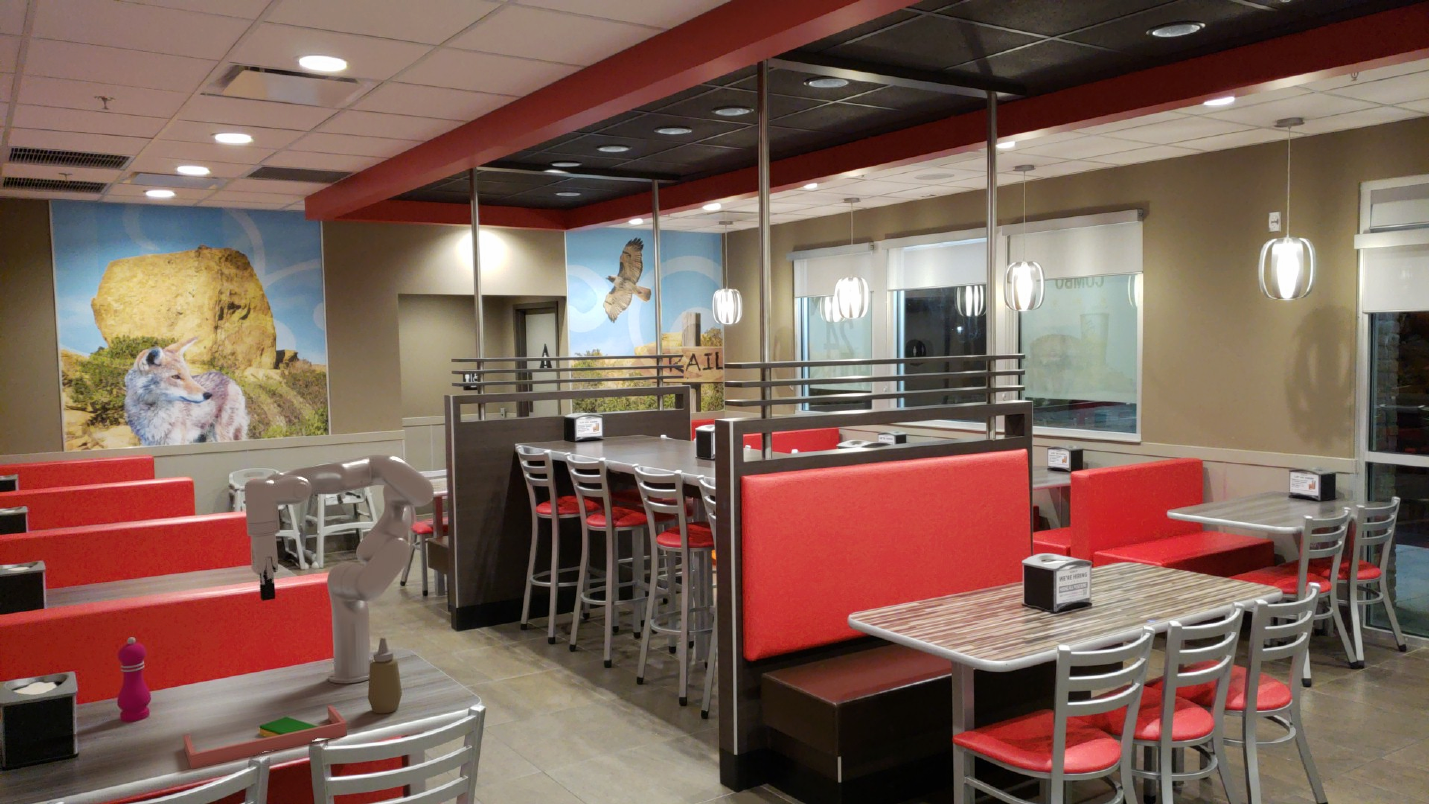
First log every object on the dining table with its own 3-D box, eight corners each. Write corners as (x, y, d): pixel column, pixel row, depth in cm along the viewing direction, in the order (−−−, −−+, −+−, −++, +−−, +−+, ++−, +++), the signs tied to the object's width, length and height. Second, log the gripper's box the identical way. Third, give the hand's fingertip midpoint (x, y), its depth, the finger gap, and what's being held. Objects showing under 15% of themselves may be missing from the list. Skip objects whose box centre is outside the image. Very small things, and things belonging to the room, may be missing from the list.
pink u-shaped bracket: (332, 717, 243) (332, 705, 243) (346, 735, 231) (346, 722, 231) (184, 748, 226) (183, 735, 226) (191, 769, 213) (190, 755, 213)
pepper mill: (141, 710, 252) (137, 632, 251) (157, 715, 248) (154, 635, 247) (111, 719, 246) (108, 639, 245) (128, 724, 242) (124, 642, 241)
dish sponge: (293, 747, 226) (293, 736, 226) (258, 735, 233) (258, 725, 233) (321, 737, 232) (321, 726, 231) (286, 726, 239) (286, 716, 239)
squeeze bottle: (389, 717, 242) (386, 643, 242) (361, 714, 245) (358, 641, 244) (409, 706, 250) (406, 634, 249) (382, 703, 253) (379, 632, 252)
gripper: (242, 526, 258) (247, 596, 259) (252, 534, 246) (257, 607, 247) (273, 522, 262) (278, 591, 263) (285, 529, 250) (289, 602, 251)
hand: (268, 599), depth 255 cm, fingers closed
